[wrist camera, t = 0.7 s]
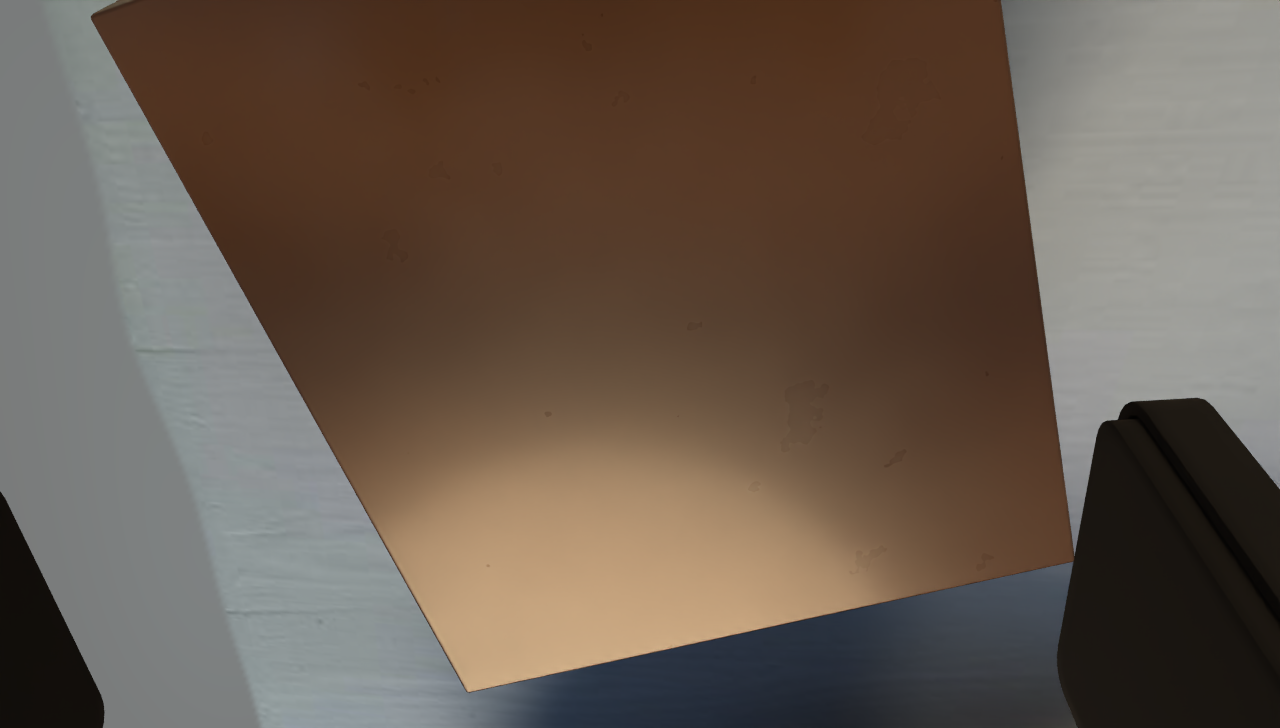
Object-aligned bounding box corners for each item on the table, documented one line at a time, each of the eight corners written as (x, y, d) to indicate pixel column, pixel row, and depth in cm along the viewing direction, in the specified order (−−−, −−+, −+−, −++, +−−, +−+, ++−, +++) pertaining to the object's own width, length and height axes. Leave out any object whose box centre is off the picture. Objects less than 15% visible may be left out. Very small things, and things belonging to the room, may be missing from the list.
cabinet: (281, -88, 24) (87, 16, 16) (844, -285, 22) (963, -286, 14) (514, 434, 31) (466, 694, 23) (954, 321, 29) (1075, 562, 21)
